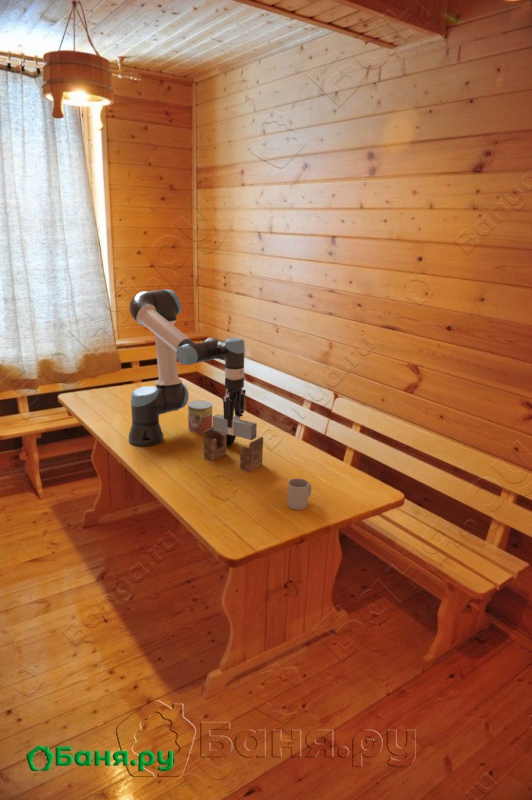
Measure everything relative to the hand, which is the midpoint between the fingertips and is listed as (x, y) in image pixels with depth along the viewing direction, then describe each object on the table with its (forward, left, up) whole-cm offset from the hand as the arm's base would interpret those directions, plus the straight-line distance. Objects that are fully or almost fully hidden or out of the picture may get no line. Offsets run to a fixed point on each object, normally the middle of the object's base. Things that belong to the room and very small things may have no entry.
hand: (233, 432), depth 232 cm
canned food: (-33, +21, -13) cm, 41 cm away
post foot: (+9, 0, -13) cm, 15 cm away
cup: (+40, -16, -13) cm, 45 cm away
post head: (-9, 0, -13) cm, 16 cm away
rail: (0, 0, 0) cm, 0 cm away
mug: (-11, +13, -13) cm, 22 cm away
